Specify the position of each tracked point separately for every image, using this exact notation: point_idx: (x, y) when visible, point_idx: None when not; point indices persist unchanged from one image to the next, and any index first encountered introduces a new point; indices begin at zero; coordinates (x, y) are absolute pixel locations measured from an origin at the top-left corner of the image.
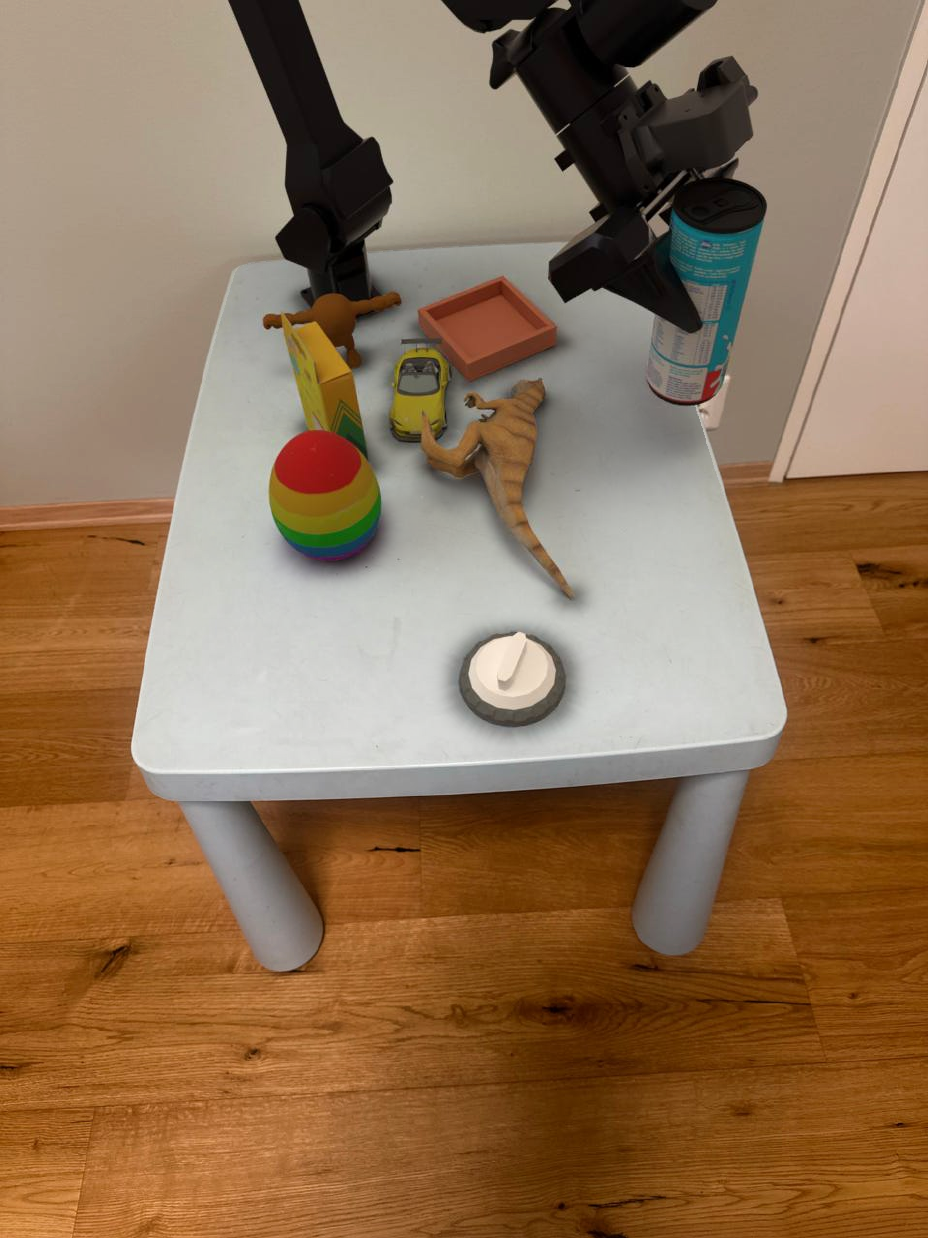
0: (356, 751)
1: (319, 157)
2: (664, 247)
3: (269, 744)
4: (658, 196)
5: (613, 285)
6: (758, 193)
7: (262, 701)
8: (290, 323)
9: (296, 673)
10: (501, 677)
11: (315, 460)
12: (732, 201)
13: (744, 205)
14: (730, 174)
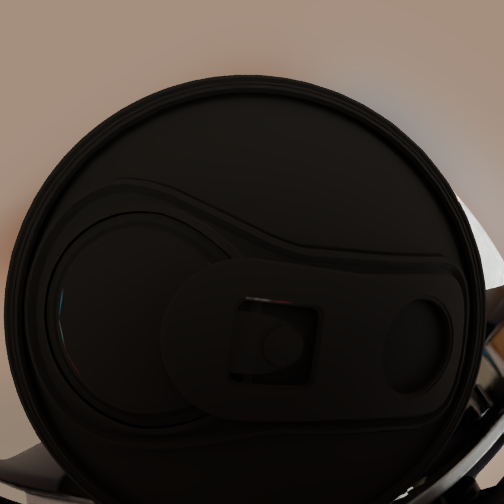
0: (483, 234)
1: None
2: (488, 300)
3: (498, 262)
4: (431, 498)
5: None
6: (24, 248)
7: (496, 283)
8: (475, 477)
9: (488, 287)
10: (458, 199)
11: None
12: (198, 304)
13: (157, 227)
14: (23, 464)
